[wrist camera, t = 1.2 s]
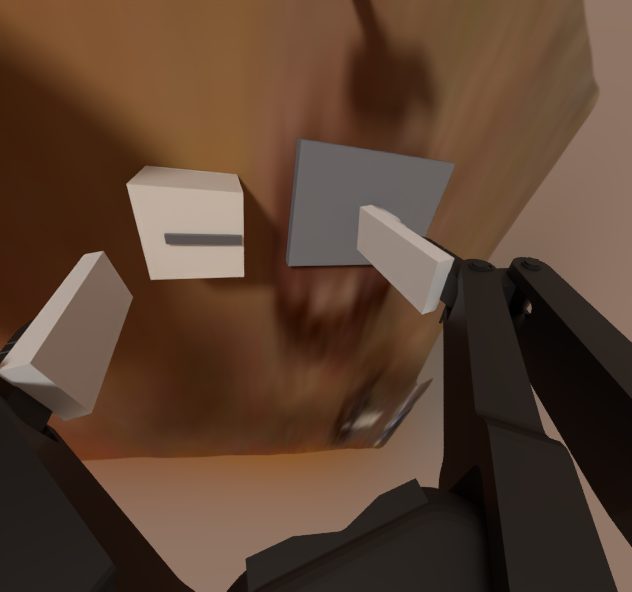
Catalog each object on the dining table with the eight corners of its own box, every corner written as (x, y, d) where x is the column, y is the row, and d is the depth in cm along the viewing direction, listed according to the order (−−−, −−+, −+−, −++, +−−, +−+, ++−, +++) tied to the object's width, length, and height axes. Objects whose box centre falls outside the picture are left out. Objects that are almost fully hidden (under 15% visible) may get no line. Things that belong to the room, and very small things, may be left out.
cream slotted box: (162, 245, 28) (149, 282, 22) (145, 165, 23) (124, 185, 18) (238, 246, 30) (244, 278, 25) (236, 174, 26) (243, 194, 20)
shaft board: (285, 260, 34) (297, 285, 29) (297, 137, 26) (315, 145, 21) (408, 259, 40) (432, 278, 36) (446, 161, 32) (485, 171, 28)
